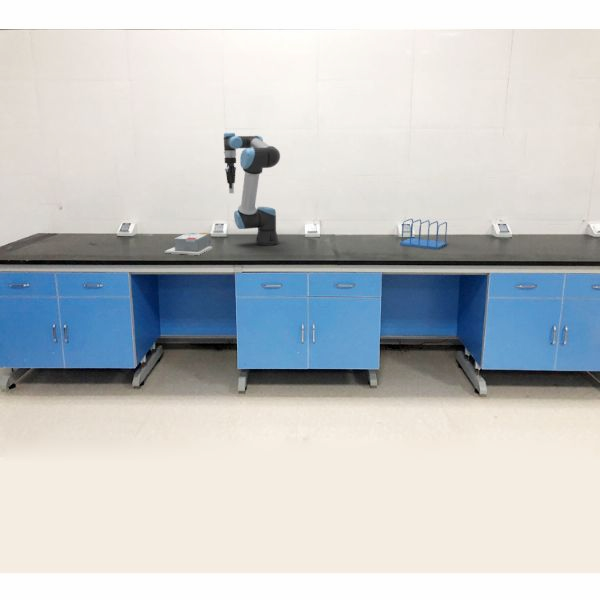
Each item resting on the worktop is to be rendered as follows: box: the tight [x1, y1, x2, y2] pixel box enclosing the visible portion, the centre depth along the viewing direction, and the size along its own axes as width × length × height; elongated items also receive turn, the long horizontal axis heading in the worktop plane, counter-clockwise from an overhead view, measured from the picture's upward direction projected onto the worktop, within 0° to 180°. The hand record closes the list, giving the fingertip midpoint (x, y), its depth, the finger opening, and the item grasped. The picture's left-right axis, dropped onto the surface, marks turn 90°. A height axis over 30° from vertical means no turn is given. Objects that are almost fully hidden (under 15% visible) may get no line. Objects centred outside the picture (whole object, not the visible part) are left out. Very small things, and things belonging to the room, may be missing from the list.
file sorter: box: [399, 218, 448, 250], centre depth 372 cm, size 25×17×15 cm
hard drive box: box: [173, 232, 212, 251], centre depth 359 cm, size 16×8×20 cm
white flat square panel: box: [164, 245, 213, 256], centre depth 358 cm, size 22×20×2 cm
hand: (231, 193), depth 393 cm, fingers closed
